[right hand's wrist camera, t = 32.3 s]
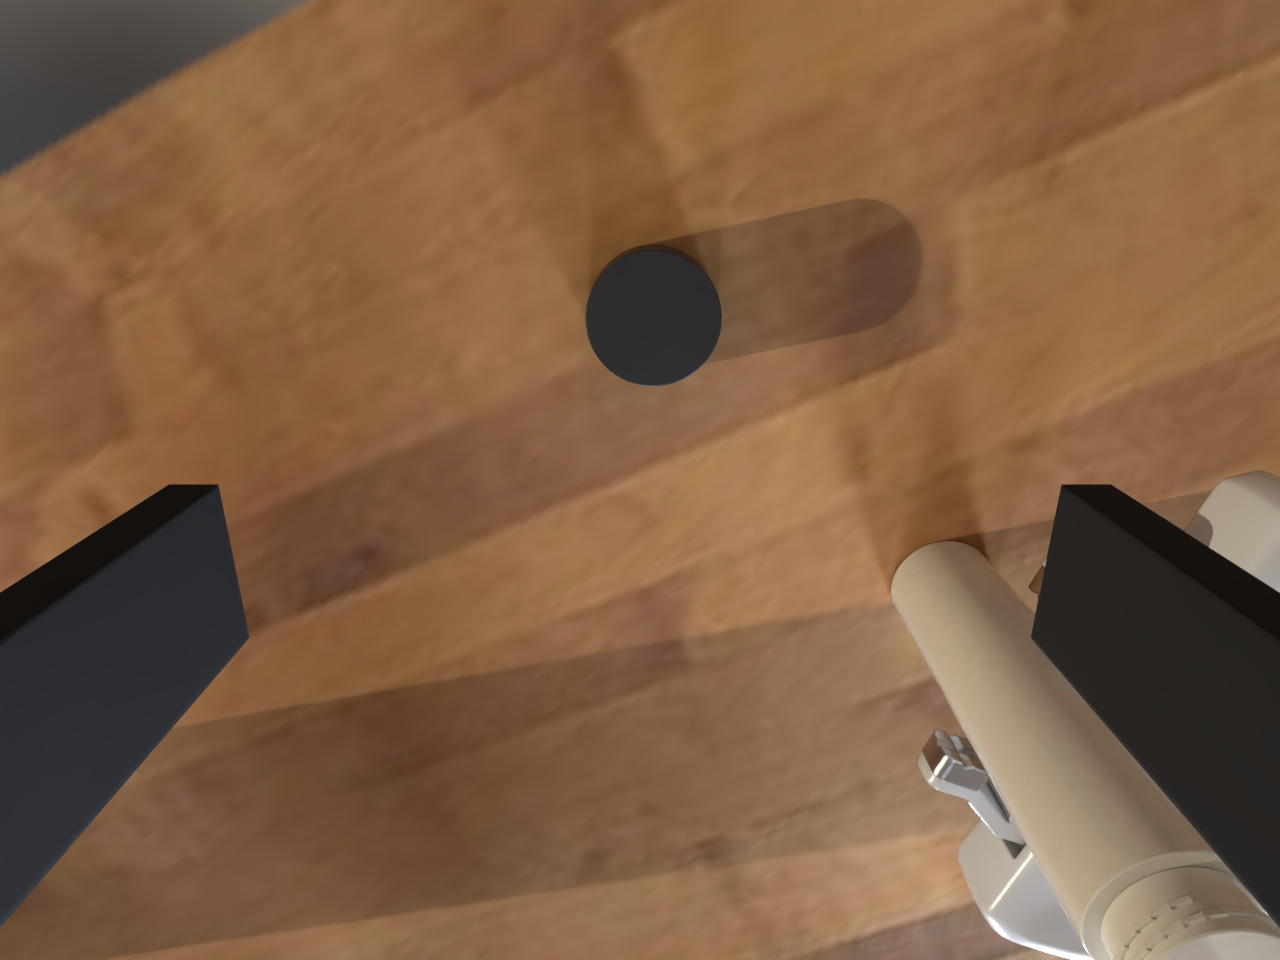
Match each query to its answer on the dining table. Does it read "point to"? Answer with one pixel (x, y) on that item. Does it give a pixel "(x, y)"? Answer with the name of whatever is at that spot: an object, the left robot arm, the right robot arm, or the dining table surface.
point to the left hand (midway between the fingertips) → (984, 671)
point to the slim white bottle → (1072, 777)
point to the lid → (653, 316)
